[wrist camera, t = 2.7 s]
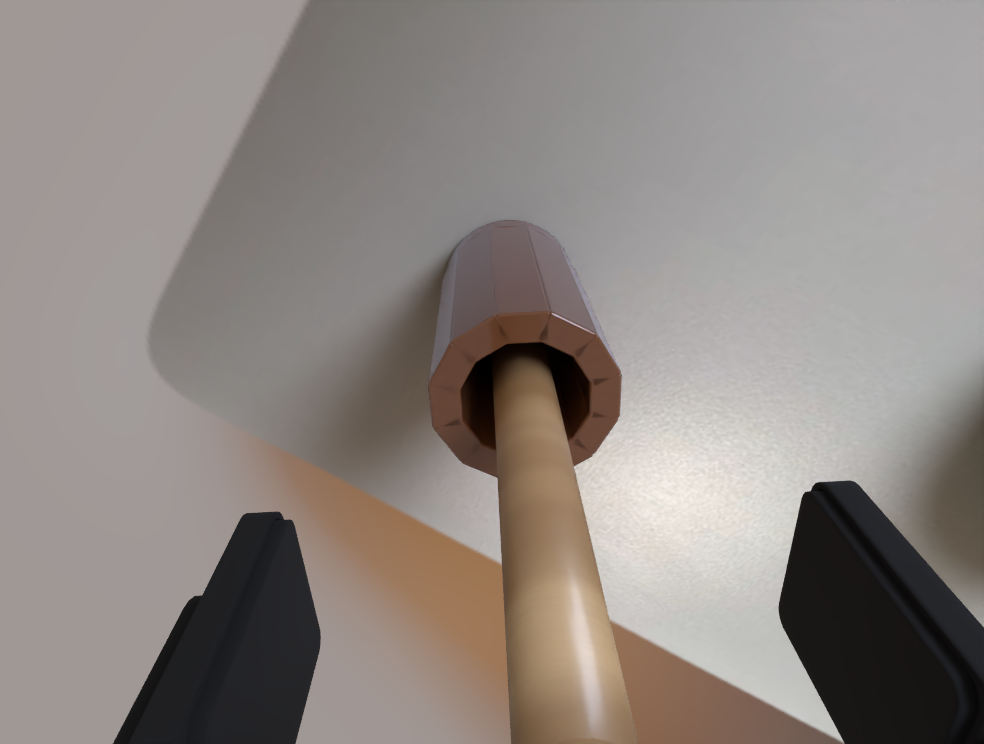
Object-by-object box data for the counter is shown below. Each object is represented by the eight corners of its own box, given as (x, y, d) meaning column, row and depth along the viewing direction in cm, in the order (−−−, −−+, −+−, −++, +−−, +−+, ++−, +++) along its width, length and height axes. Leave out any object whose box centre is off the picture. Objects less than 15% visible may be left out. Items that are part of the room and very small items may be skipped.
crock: (439, 223, 23) (420, 318, 15) (573, 216, 23) (625, 307, 15) (450, 344, 25) (438, 485, 17) (571, 337, 25) (617, 475, 17)
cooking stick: (486, 272, 23) (514, 817, 7) (531, 270, 23) (668, 807, 7) (489, 314, 23) (519, 895, 7) (532, 312, 23) (656, 888, 7)
